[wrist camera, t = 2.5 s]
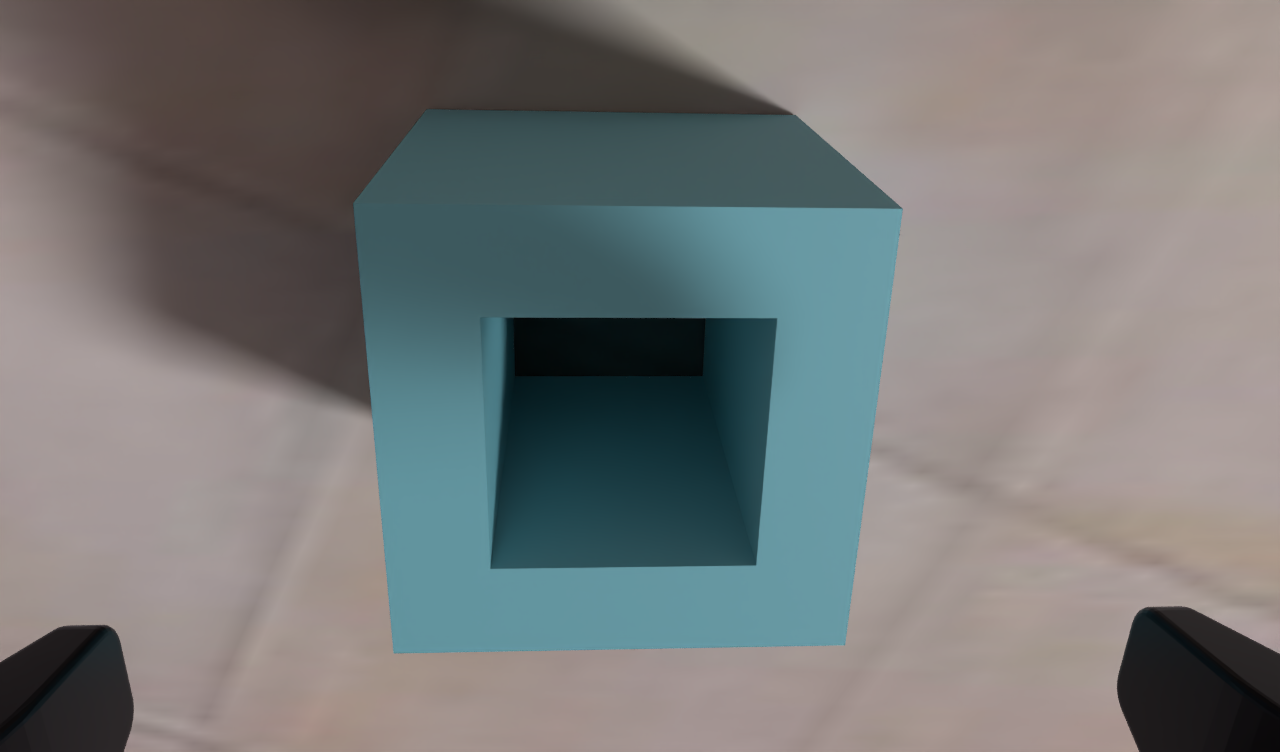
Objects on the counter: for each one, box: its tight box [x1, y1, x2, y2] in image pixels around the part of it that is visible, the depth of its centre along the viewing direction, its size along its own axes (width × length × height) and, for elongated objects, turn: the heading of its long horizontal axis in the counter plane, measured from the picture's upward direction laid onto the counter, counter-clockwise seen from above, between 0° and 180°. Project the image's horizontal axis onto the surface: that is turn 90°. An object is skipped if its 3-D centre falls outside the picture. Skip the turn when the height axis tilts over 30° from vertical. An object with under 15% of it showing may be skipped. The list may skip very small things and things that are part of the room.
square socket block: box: [353, 109, 903, 653], centre depth 15 cm, size 6×6×6 cm
